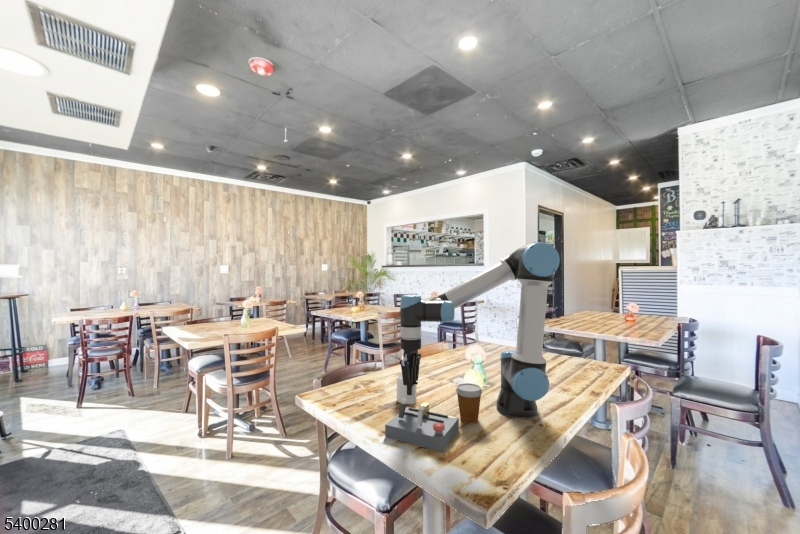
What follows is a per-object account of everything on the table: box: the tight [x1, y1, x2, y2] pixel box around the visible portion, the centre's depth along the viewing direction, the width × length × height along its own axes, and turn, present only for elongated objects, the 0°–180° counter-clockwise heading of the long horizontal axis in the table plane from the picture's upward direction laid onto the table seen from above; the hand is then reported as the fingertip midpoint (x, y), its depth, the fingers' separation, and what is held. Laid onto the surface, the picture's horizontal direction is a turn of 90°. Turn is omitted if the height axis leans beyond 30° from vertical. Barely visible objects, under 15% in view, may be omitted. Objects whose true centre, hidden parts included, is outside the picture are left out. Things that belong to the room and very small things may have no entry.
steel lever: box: [416, 404, 425, 427], centre depth 109 cm, size 2×2×6 cm
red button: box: [433, 423, 445, 436], centre depth 104 cm, size 4×4×3 cm
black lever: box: [398, 398, 408, 419], centre depth 115 cm, size 2×2×6 cm
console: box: [384, 406, 460, 453], centre depth 113 cm, size 20×16×5 cm
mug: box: [396, 373, 417, 406], centre depth 139 cm, size 12×8×10 cm
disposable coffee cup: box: [455, 382, 483, 425], centre depth 122 cm, size 10×10×12 cm
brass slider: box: [421, 402, 430, 416], centre depth 117 cm, size 2×3×4 cm, turn 152°
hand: (410, 402), depth 121 cm, fingers closed
